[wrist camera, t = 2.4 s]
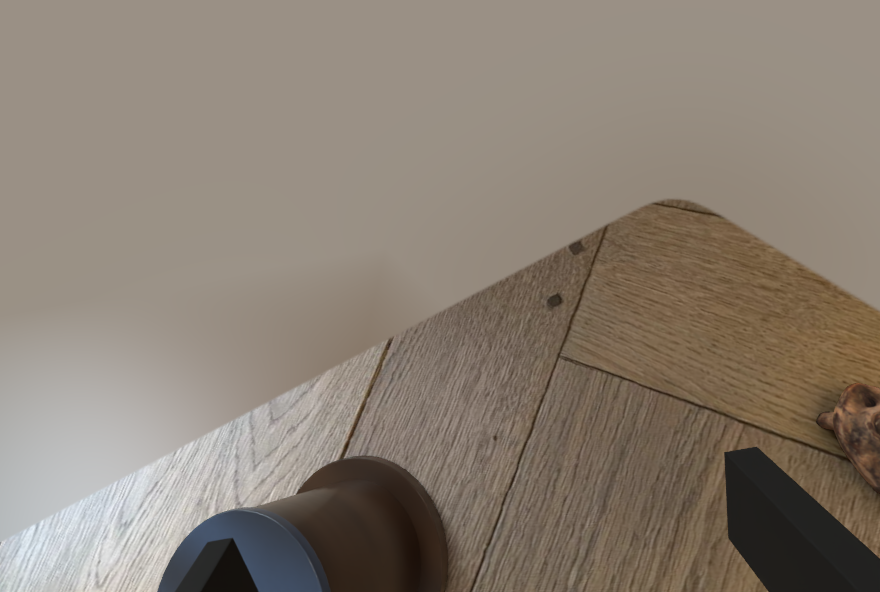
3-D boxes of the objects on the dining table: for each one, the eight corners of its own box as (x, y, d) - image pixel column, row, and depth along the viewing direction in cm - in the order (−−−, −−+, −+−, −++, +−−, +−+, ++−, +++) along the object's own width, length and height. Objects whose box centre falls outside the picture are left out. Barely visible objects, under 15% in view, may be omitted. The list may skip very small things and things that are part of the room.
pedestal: (317, 434, 34) (185, 447, 23) (467, 489, 29) (391, 539, 18) (267, 608, 31) (94, 715, 20) (421, 699, 26) (300, 905, 16)
